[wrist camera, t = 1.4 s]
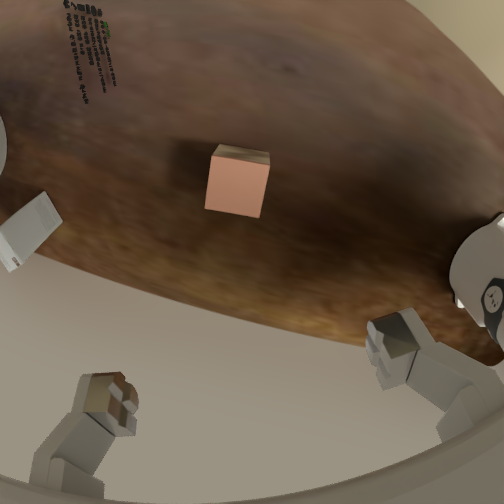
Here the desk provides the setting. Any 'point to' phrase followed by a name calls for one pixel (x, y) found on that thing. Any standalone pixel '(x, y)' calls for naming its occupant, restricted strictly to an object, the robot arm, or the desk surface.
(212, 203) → the birch cube
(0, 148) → the roll of tape
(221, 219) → the desk surface
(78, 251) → the desk surface
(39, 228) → the skincare box
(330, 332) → the desk surface
